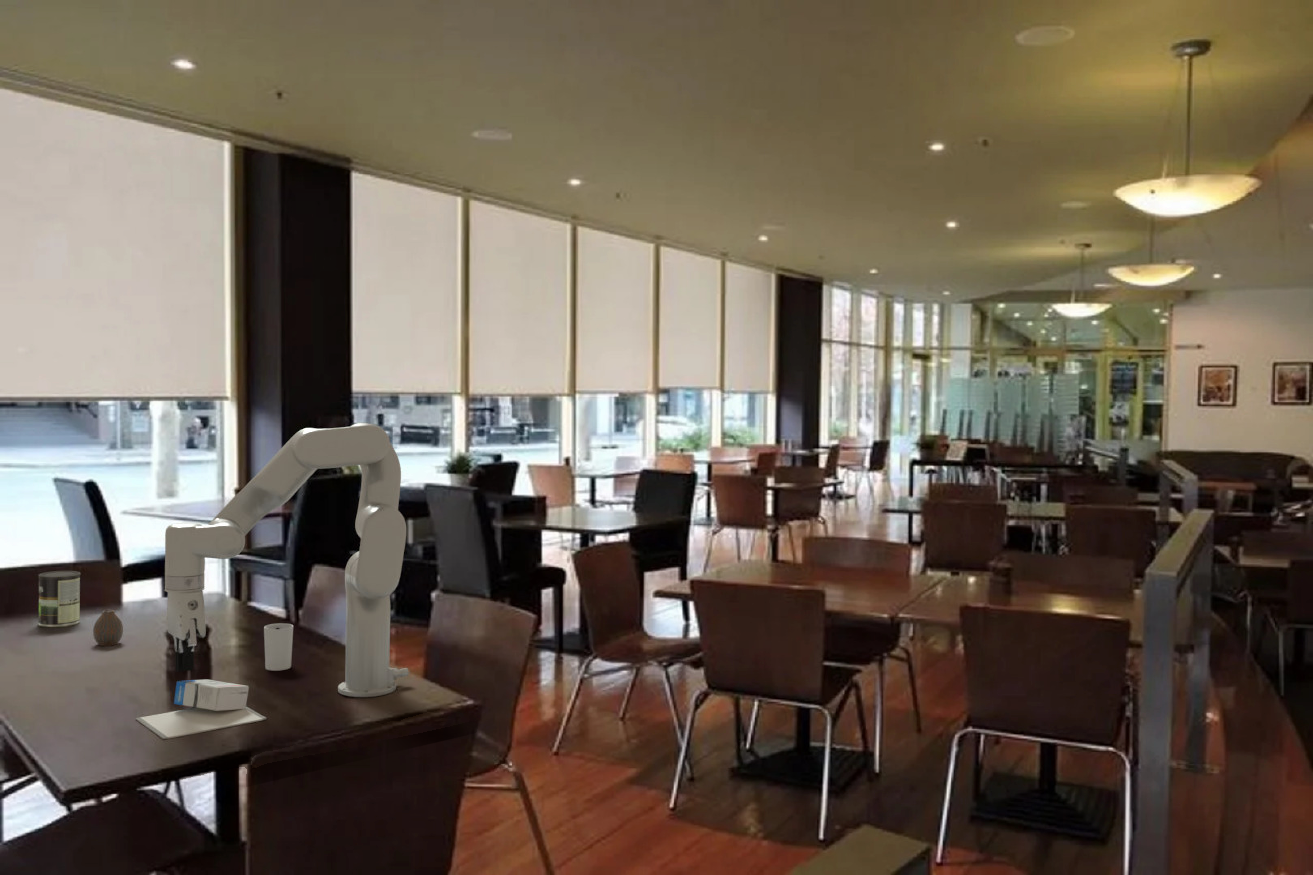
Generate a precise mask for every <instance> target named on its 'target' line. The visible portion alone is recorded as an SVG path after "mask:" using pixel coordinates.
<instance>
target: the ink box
mask: <svg viewBox="0 0 1313 875" xmlns="http://www.w3.org/2000/svg"><path fill="white" fill-rule="evenodd" d="M249 688H250V686H249V685H244V684H237V683H233V682H226V681H219V680H214V679H205V678H204V679H191V680H179V681H178V680H177V681H176V685H175V691H174V692H175V693H174V699H173V700H174V701H173V704H174V705H177V706H184V707H185V706H186V707H191V708H196V707H197V708H203V709H209V710H214V711H220V710H236V709H245V708H246V707H247V702H248V701H247V700H248V696H249Z"/></svg>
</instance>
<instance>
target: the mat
mask: <svg viewBox="0 0 1313 875" xmlns="http://www.w3.org/2000/svg"><path fill="white" fill-rule="evenodd" d="M135 720H136V721H137V722H139V724H141V725H142V726H144V727H145V728H146V729H148V730H149V731H151V732H152V733H153V734H155V735H156V736H158V737H159V738H161V739H162V740H168V739H174V738H178V737H179V738H180V737H183V736H190V735H194V734H199V733H204V732H210V731H214V730H219V729H220V730H221V729H225V728H231V727H235V726H240V725H246V724H251V723H255V722H256V723H257V722H261V721H266V720H267V717H266V716H264V715H261V714H260V713H258V712H257V711H255V710H254V709H252V708H250V707H248V706H246V708H245V709H236V710H220V711H214V710H209V709H203V708H197V707H191V708H185V709H180V710H175V711H168V712H164V713H158V714H152V715H147V716H141V717H136V718H135Z"/></svg>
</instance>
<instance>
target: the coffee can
mask: <svg viewBox="0 0 1313 875" xmlns="http://www.w3.org/2000/svg"><path fill="white" fill-rule="evenodd" d="M80 580H81V572H80V571H77V570H76V571H75V570H56V571H55V570H53V571H45V572H41V573H39V574H38V626H39V627H43V628H61V627H69V626H75V625H78V624H80V622H81V620H80V617H81V616H80V615H81V614H80V605H81V604H80V596H81V594H80V592H81V581H80Z"/></svg>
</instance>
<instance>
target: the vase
mask: <svg viewBox="0 0 1313 875" xmlns="http://www.w3.org/2000/svg"><path fill="white" fill-rule="evenodd" d="M92 630H93V631H92V632H93V633H92V635H93V638H94V640H95V642H96V644H98V646H102V647H109V646H114V645H117V644H118V643H120V640H122V637H123V635H124V625H123V622H122V620H121V618H120V617H119V616H118V615H117V614H116V613H115V611H114V609H107V610H106V609H105V610H103V611H102V613H101V614H100V616H99V617H98V619H97V620H96V621H95V623H94V625H93V629H92Z"/></svg>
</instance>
